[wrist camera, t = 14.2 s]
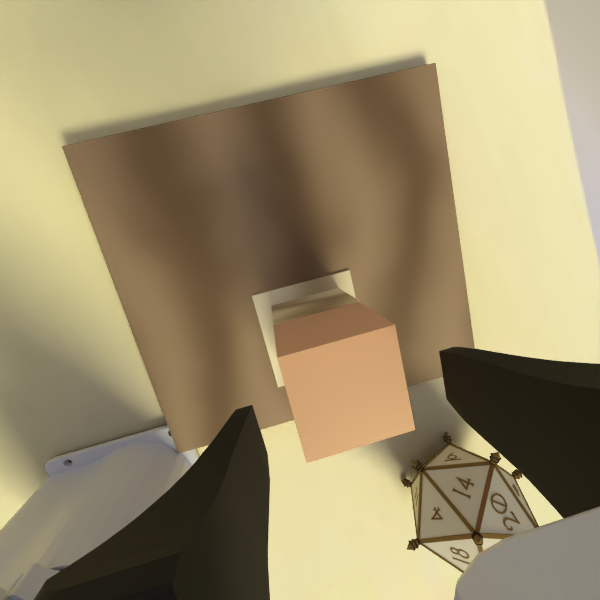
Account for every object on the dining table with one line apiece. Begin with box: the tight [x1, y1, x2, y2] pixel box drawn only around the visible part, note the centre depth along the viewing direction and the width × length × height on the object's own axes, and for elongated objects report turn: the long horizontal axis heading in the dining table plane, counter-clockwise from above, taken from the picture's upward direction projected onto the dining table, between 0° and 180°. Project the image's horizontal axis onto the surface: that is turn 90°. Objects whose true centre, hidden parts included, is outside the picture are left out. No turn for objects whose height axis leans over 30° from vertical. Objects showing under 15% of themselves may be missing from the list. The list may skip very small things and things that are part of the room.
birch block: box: [271, 288, 359, 325], centre depth 18 cm, size 4×4×4 cm
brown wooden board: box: [62, 63, 475, 454], centre depth 20 cm, size 22×20×1 cm
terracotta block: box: [273, 302, 415, 463], centre depth 14 cm, size 4×4×4 cm
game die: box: [401, 432, 539, 573], centre depth 21 cm, size 9×8×10 cm
